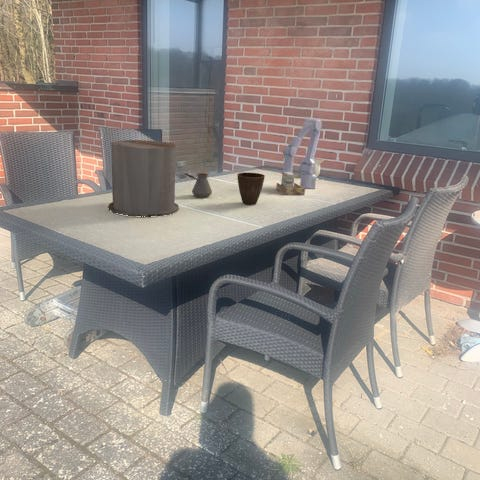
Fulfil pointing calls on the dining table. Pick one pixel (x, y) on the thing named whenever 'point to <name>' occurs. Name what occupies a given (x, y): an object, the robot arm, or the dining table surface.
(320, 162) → the pitcher
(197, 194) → the coffee pot
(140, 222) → the dining table surface
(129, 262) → the dining table surface
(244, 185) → the plant pot
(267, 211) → the dining table surface
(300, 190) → the pine u-shaped frame
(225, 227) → the dining table surface
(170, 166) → the storage basket
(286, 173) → the ink box
